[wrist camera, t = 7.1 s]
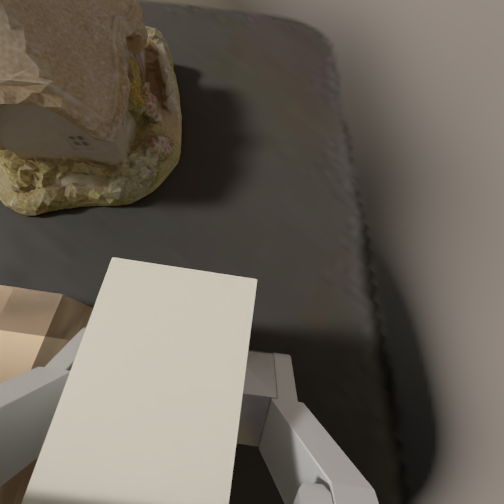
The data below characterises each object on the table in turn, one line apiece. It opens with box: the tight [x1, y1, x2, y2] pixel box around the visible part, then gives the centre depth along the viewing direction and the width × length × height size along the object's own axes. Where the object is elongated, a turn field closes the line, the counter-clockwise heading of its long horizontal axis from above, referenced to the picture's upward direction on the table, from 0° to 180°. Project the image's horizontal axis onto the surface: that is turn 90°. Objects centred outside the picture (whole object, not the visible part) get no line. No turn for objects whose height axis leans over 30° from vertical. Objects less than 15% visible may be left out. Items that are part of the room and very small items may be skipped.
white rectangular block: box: [21, 257, 257, 504], centre depth 8 cm, size 4×3×8 cm, turn 173°
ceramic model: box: [0, 0, 182, 216], centre depth 13 cm, size 14×11×10 cm
